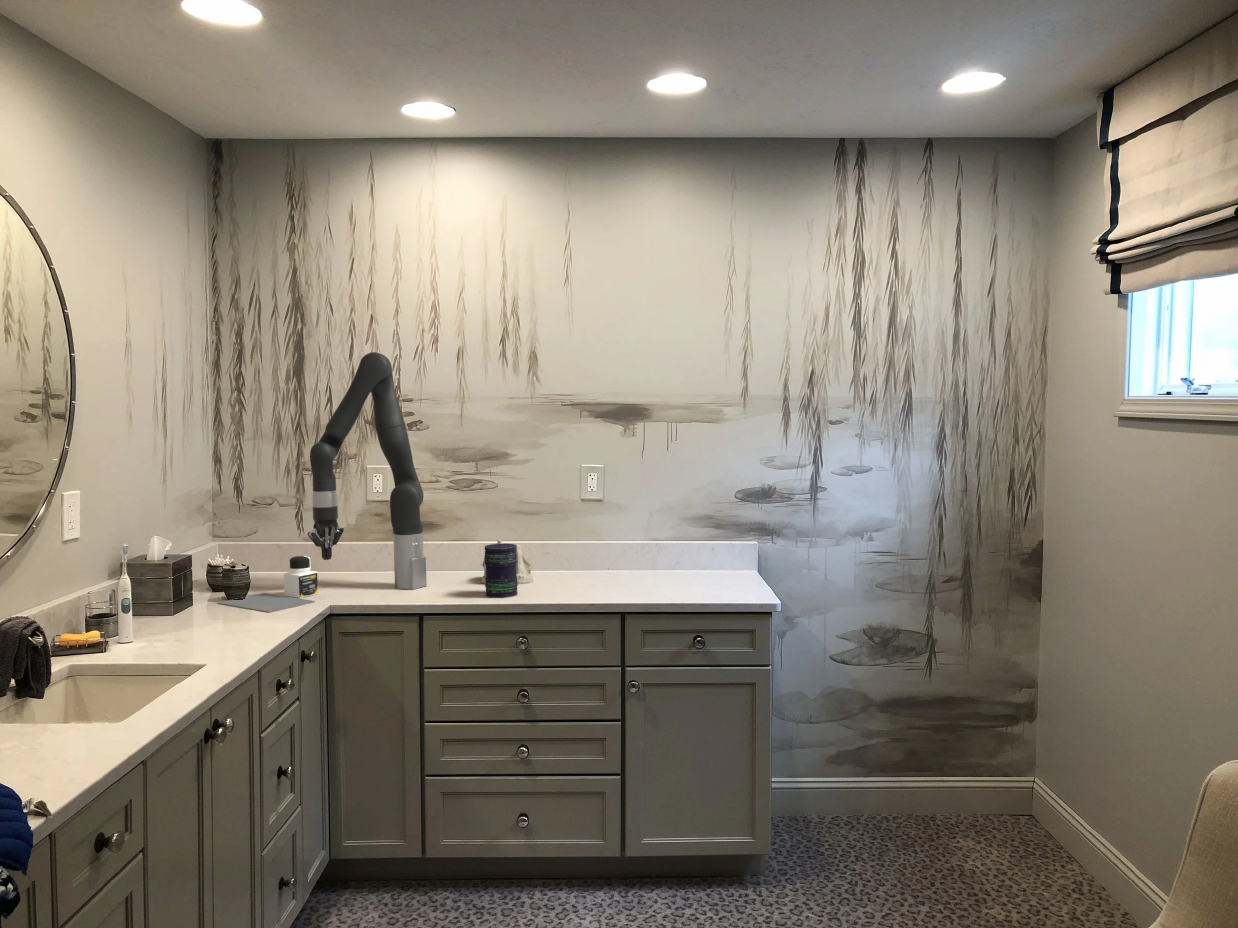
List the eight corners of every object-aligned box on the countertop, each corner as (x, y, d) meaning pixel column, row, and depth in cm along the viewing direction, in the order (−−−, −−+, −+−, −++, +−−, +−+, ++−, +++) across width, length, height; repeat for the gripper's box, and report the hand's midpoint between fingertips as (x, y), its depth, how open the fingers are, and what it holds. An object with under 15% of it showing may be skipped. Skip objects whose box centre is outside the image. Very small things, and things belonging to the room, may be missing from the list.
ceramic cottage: (535, 583, 304) (532, 536, 303) (484, 588, 300) (481, 541, 299) (528, 577, 319) (525, 533, 319) (479, 582, 315) (476, 537, 314)
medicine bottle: (299, 598, 286) (298, 559, 285) (284, 596, 290) (282, 557, 289) (318, 594, 292) (317, 555, 291) (303, 591, 296) (301, 554, 295)
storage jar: (517, 597, 283) (516, 548, 282) (484, 598, 282) (482, 548, 281) (518, 590, 293) (517, 543, 291) (486, 591, 292) (485, 543, 291)
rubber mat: (315, 601, 281) (315, 600, 281) (269, 612, 267) (268, 611, 267) (264, 593, 294) (264, 592, 294) (217, 603, 280) (217, 602, 280)
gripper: (315, 507, 290) (317, 563, 291) (349, 503, 301) (351, 557, 302) (299, 506, 294) (301, 561, 296) (333, 502, 305) (335, 555, 307)
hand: (326, 559), depth 299 cm, fingers closed
